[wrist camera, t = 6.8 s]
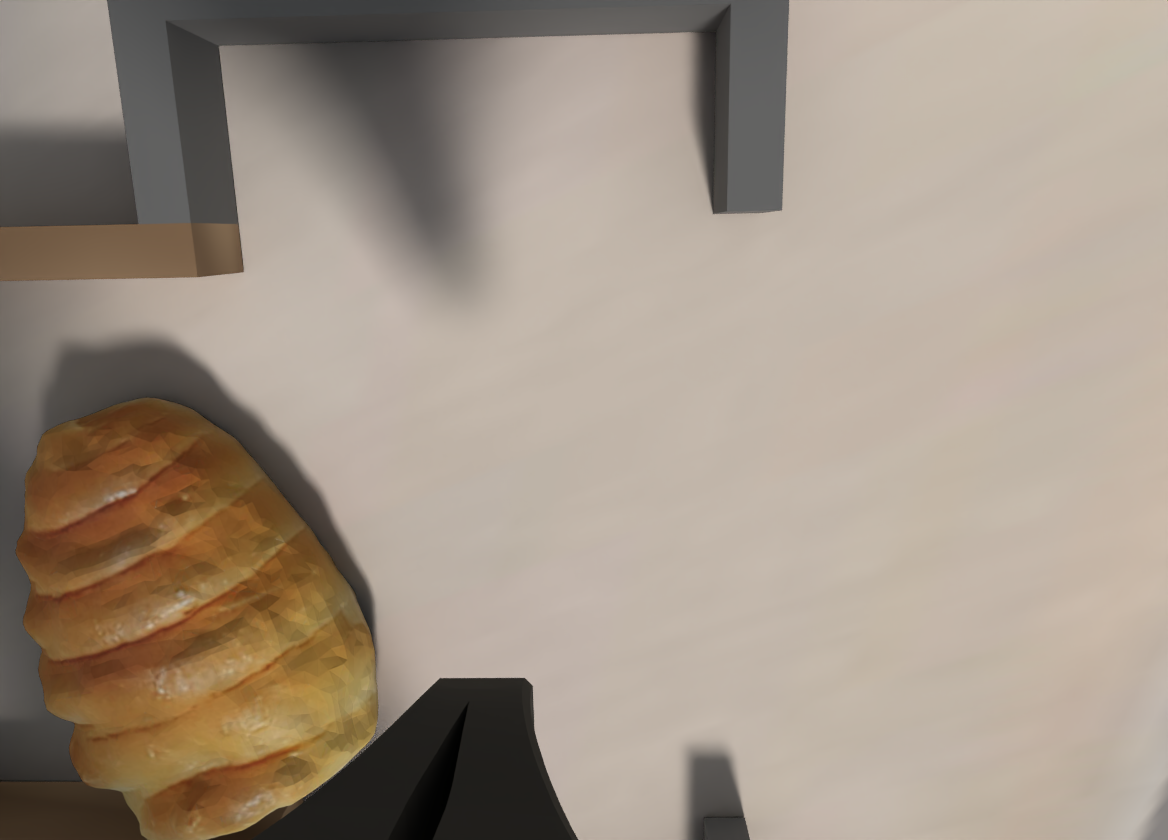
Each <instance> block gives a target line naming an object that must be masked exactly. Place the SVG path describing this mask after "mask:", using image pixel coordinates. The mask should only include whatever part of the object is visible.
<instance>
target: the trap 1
mask: <svg viewBox="0 0 1168 840" xmlns="http://www.w3.org/2000/svg"><path fill="white" fill-rule="evenodd" d="M107 3H108V10H109V17H110V24H111V32H112V39H113V46H114V53H115V60H116V67H117V74H118V82H119V89H120V96H121V103H122V110H123V117H124V125H125V132H126V139H127V146H128V153H129V160H130V167H131V175H132V182H133V189H134V196H135V203H136V210H137V217H138V224H169V223H212V224H238V218H237V209H236V201H235V192H234V183H233V174H232V165H231V156H230V148H229V139H228V130H227V121H226V112H225V103H224V94H223V86H222V77H221V68H220V59H219V50H218V46H223V45H258V44H293V43H328V42H363V41H398V40H433V39H467V38H502V37H537V36H572V35H607V34H642V33H677V32H712V31H716V62H715V128H714V194H713V214H731V213H764V212H772V211H780V210H782V193H783V163H784V134H785V104H786V74H787V44H788V14H789V0H107Z"/></svg>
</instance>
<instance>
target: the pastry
mask: <svg viewBox="0 0 1168 840" xmlns="http://www.w3.org/2000/svg"><path fill="white" fill-rule="evenodd" d="M25 488H26V491H25V522H24V530H23V532H22V534H21V536H20V538H19V539H18V541H17V547H16V550H15V551H16V555H17V557H18V559H19V561H20V562H21V564H22V566H23V568H24V569H25V571H26V573H27V574H28V577H29V580H30V583H31V591H30V594H29V598H28V602H27V607H26V611H25V614H24V617H23V625H24V627H25V630H26V631H27V632H28V634H29V635H30V636H31V637H32V638H33V639H34V640H35V641H36V642H37V644H38V645H39V646H40V647H41V649H42V653H41V656H40V661H39V668H38V671H39V677H40V679H41V682H42V686H43V691H44V702H45V705H46V708H47V710H48V711H49V712H51V713H52V714H53V715H55V716H57V717H59V718H61V719H64V720H67V721H71V722H74V724H75V727H74V732H73V735H72V737H71V741H70V745H69V753H70V757H71V760H72V764H73V766H74V767H75V769H76V770H77V772H78V774H79V776H80V778H81V779H82V781H83V782H84V783H85V784H86V785H88V786H91V787H94V788H101V789H111V790H117V791H120V792H122V793H123V796H124V798H125V800H126V803H127V805H128V806H129V807H130V809H131V810H132V811H133V812H134V814H135V815H136V817H137V819H138V821H139V823H140V831H141V835H142V836H144V837H145V838H146V839H148V840H207V839H211V838H215V837H218V836H221V835H226V834H231V833H235V832H238V831H242V830H244V829H246V828H248V827H250V826H251V825H253V824H255V823H257V822H258V821H259V820H261V819H262V818H264V817H265V816H266V815H268V814H269V813H271V812H273V811H274V810H276V809H278V808H281V807H285V806H289V805H292V804H294V803H295V802H297V801H298V800H300V799H301V798H303V797H305V796H306V795H307V794H309V793H310V792H312V791H313V790H315V789H316V788H318V787H319V786H320V785H322V784H323V783H324V782H326V781H327V780H328V779H330V778H331V777H332V776H333V775H335V774H336V773H337V772H338V771H340V770H341V769H342V768H343V767H344V766H345V765H346V764H347V763H348V762H349V761H350V760H351V759H352V758H353V757H354V756H355V755H356V754H357V753H358V752H359V751H360V750H361V749H362V748H363V747H364V746H365V745H366V744H367V743H368V742H369V741H370V740H371V739H372V737H373V735H374V734H375V730H376V725H377V719H378V692H377V683H376V664H375V649H374V646H373V642H372V636H371V633H370V630H369V627H368V625H367V623H366V621H365V619H364V616H363V614H362V611H361V609H360V607H359V604H358V602H357V599H356V594H355V592H354V591H353V589H352V588H351V586H350V585H349V584H348V582H347V581H346V580H345V578H344V577H343V576H342V574H341V573H340V572H339V570H338V569H337V568H336V567H335V564H334V562H333V560H332V559H331V557H330V555H329V554H328V552H327V551H326V550H325V549H324V548H323V547H322V546H321V544H320V543H319V541H318V539H317V538H316V536H315V534H314V533H313V531H312V530H311V529H310V527H309V526H308V525H307V523H306V522H305V521H304V520H303V519H302V518H301V517H300V516H299V515H298V514H297V512H296V511H295V510H294V509H293V507H292V506H291V505H290V504H289V502H288V501H287V500H286V499H285V498H284V496H283V495H282V494H281V493H280V491H279V490H278V488H277V487H276V485H275V484H274V483H273V482H272V480H271V479H270V478H269V477H268V475H267V474H266V473H265V472H264V471H263V469H262V468H261V467H260V466H259V465H258V464H257V462H256V461H255V460H254V459H253V458H252V457H251V456H250V455H249V453H248V452H247V451H246V450H245V449H244V447H243V446H242V445H241V444H240V443H239V442H238V441H237V440H236V439H235V438H234V437H232V436H231V435H229V434H228V433H226V432H225V431H223V430H222V429H220V428H218V427H217V426H215V425H214V424H212V423H211V422H209V421H208V420H207V419H205V418H204V417H203V416H201V415H200V414H199V413H197V412H196V411H194V410H193V409H191V408H188V407H186V406H183V405H180V404H178V403H174V402H170V401H166V400H162V399H158V398H148V397H146V398H140V399H135V400H132V401H128V402H123V403H119V404H116V405H113V406H111V407H108V408H106V409H103V410H101V411H98V412H96V413H94V414H91V415H88V416H85V417H82V418H79V419H76V420H71V421H67V422H64V423H62V424H60V425H58V426H56V427H54V428H52V429H49V430H48V431H46V432H45V433H44V434H43V435H42V437H41V439H40V442H39V444H38V446H37V455H36V458H35V460H34V462H33V464H32V466H31V467H30V469H29V470H28V471H27V473H26V477H25Z"/></svg>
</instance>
